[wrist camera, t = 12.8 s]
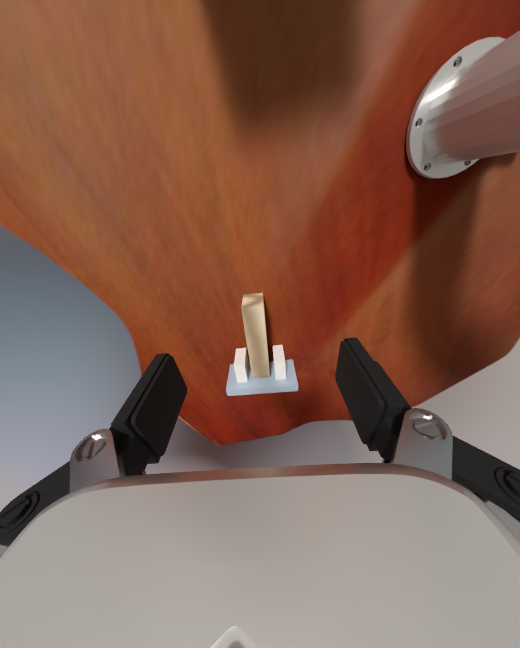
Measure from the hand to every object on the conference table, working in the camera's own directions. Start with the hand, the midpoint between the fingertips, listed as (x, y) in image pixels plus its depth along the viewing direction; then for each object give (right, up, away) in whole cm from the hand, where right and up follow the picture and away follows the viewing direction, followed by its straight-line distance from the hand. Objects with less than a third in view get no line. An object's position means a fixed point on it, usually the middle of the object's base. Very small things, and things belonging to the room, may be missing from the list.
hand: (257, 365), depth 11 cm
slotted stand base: (0, -7, +38) cm, 38 cm away
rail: (0, +1, +33) cm, 33 cm away
